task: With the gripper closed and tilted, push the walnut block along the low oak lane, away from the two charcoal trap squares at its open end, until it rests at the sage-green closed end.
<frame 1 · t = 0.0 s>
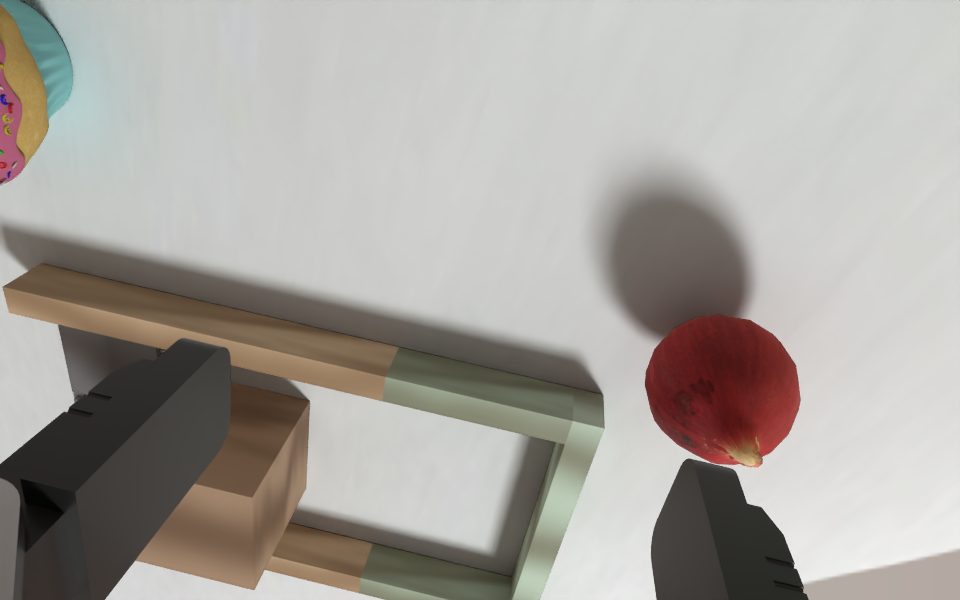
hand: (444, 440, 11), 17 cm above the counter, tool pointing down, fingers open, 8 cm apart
walnut block: (250, 431, 36), resting in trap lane
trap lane: (299, 445, 36), on the counter
cupcake: (21, 54, 27), on the counter
onion: (704, 335, 29), on the counter
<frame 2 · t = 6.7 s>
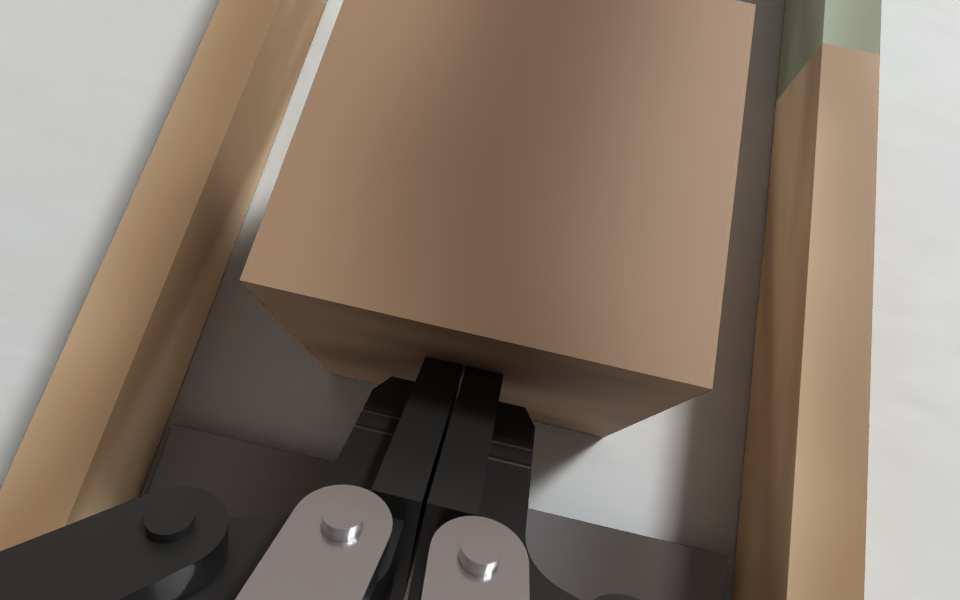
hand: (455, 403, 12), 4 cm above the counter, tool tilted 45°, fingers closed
walnut block: (496, 277, 17), resting in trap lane, touching gripper
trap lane: (514, 197, 17), on the counter
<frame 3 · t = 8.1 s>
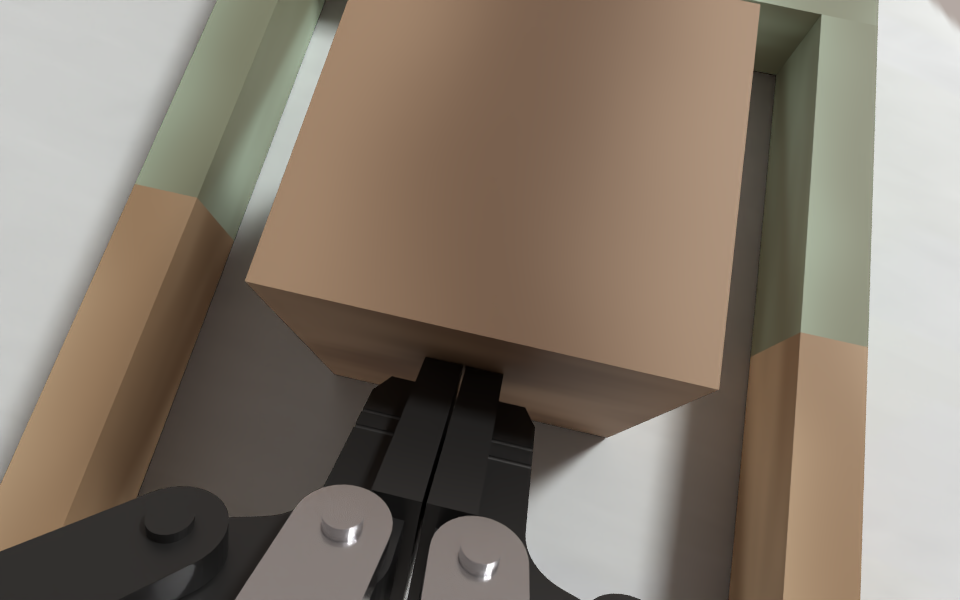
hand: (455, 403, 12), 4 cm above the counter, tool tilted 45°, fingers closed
walnut block: (499, 277, 17), resting in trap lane, touching gripper
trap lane: (443, 490, 15), on the counter
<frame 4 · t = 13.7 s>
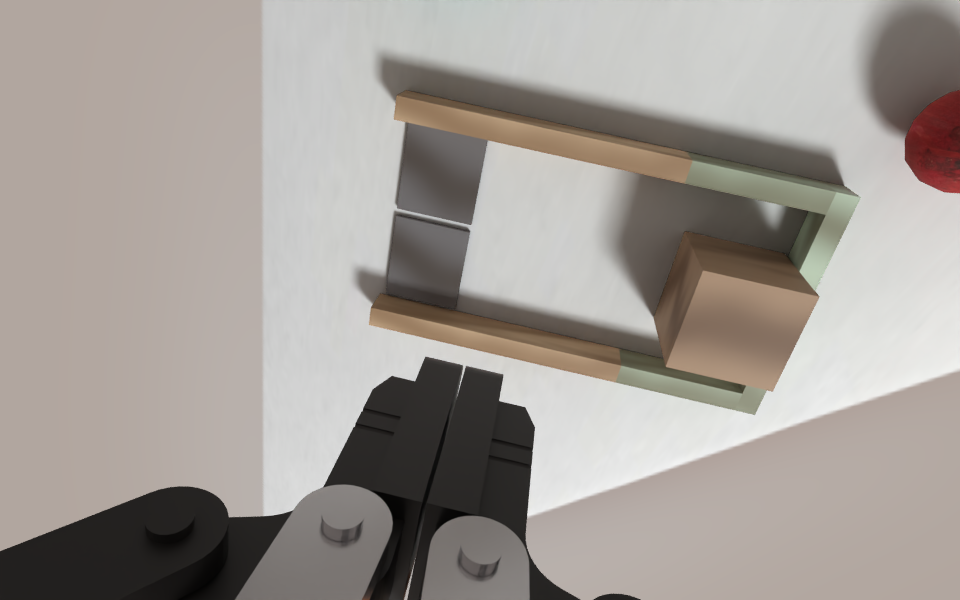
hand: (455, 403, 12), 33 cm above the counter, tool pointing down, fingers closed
walnut block: (716, 286, 45), resting in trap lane
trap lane: (578, 251, 45), on the counter
onion: (932, 128, 39), on the counter
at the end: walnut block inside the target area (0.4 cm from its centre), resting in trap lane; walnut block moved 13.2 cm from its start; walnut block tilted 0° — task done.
